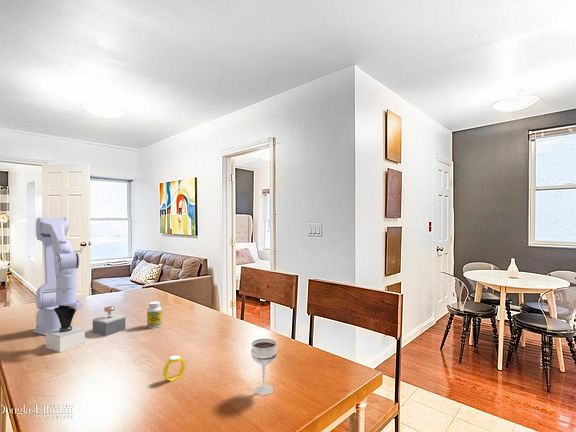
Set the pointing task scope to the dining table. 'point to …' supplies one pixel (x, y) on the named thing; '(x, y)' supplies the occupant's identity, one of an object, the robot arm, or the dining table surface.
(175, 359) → the gold diamond ring
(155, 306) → the supplement bottle
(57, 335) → the press white
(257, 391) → the wineglass
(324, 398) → the dining table surface
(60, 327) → the doorknob dark gray
